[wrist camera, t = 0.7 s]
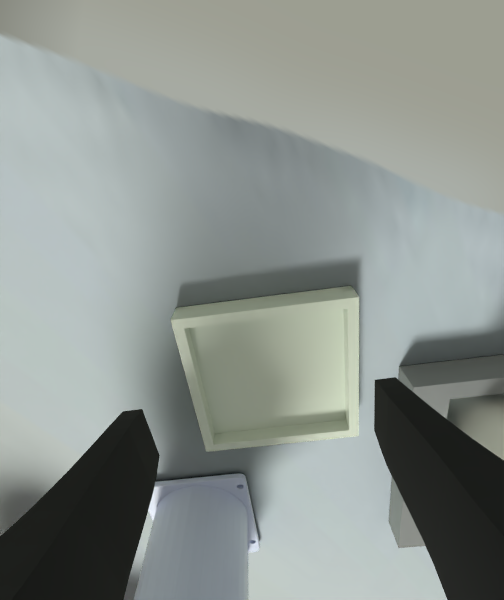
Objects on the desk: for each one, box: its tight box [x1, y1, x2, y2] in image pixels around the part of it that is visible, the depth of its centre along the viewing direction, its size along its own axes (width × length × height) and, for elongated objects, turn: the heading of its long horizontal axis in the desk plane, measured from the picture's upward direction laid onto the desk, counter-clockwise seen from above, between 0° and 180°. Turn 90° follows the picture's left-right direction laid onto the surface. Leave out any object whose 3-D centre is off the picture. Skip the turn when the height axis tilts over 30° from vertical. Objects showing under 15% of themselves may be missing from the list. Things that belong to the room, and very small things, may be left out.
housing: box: [389, 355, 504, 548], centre depth 23 cm, size 16×10×2 cm, turn 8°
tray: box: [171, 286, 359, 452], centre depth 20 cm, size 10×10×2 cm
